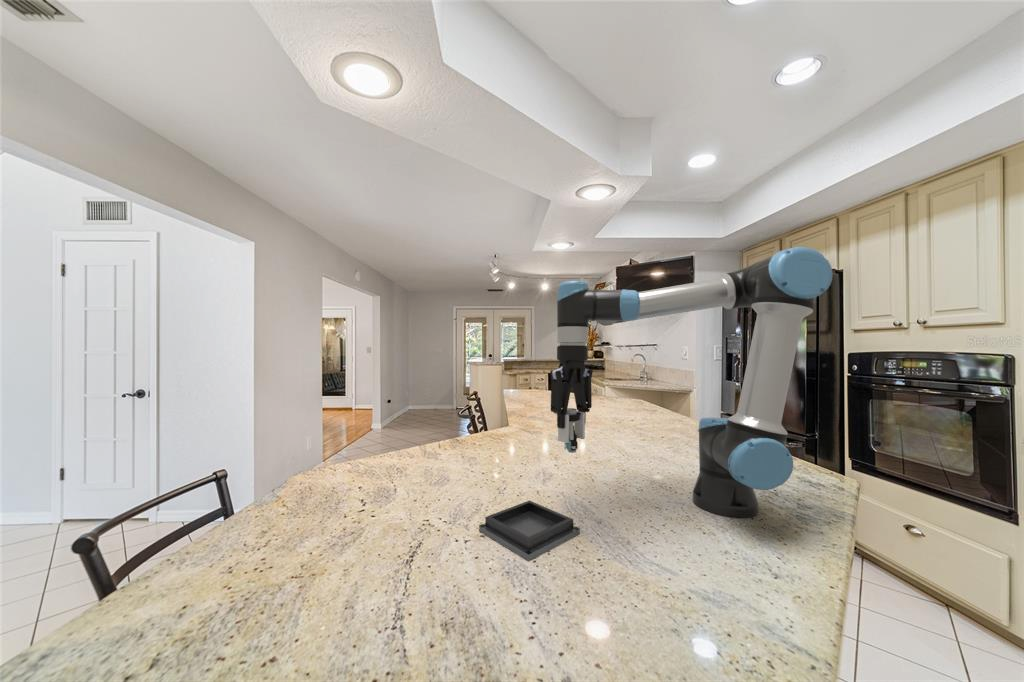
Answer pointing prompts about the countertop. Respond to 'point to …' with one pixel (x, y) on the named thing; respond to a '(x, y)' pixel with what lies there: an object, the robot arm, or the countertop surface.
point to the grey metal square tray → (529, 529)
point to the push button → (572, 430)
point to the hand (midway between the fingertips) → (571, 439)
